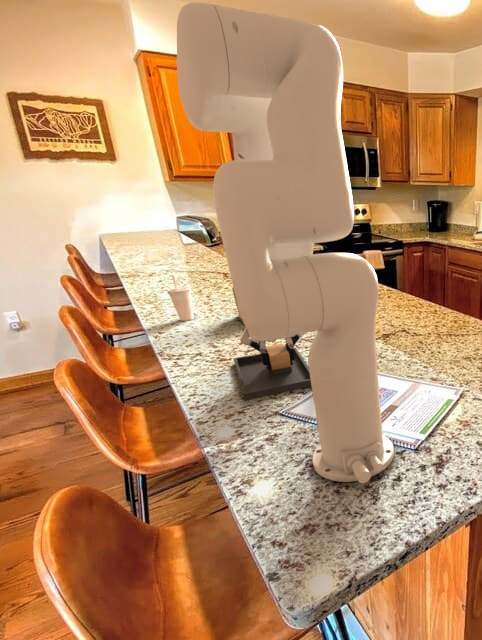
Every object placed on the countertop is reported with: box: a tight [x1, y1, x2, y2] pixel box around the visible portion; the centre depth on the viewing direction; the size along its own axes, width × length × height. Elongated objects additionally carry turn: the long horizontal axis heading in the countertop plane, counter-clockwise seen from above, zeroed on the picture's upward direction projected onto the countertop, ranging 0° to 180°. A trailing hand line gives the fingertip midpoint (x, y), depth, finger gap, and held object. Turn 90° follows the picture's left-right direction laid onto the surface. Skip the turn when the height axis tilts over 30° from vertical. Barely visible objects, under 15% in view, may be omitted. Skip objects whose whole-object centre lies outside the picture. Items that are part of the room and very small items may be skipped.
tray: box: [233, 347, 312, 402], centre depth 95 cm, size 21×14×2 cm
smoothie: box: [166, 274, 195, 322], centre depth 133 cm, size 6×6×14 cm
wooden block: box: [266, 343, 292, 375], centre depth 98 cm, size 7×4×4 cm, turn 29°
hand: (279, 364), depth 99 cm, fingers closed on wooden block, 4 cm apart
